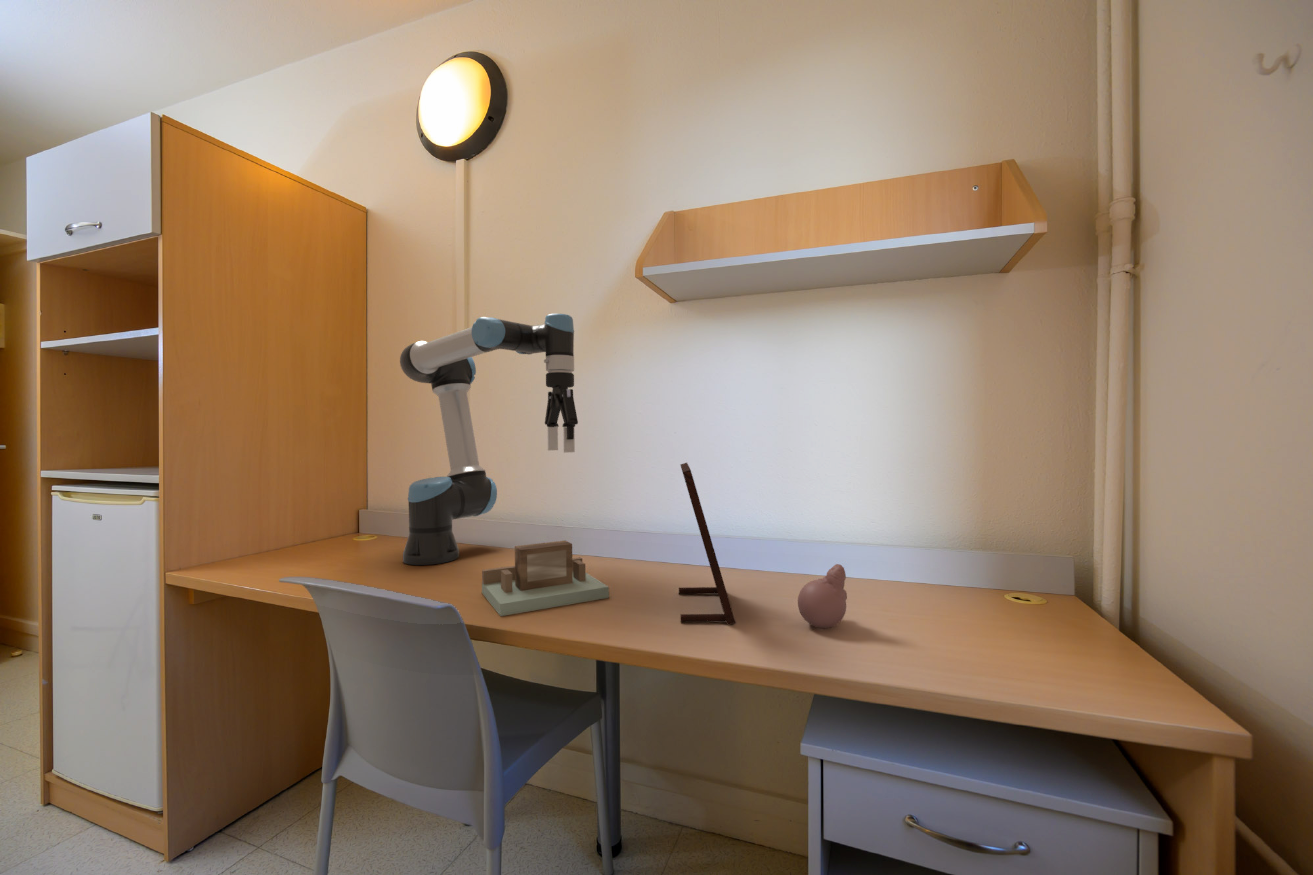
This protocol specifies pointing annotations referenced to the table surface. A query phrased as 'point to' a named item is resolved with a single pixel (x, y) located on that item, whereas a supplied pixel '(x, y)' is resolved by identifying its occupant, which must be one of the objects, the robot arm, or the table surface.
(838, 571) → the figurine
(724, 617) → the black easel stand
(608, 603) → the table surface
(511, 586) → the green assembly board
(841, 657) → the table surface
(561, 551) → the walnut frame
